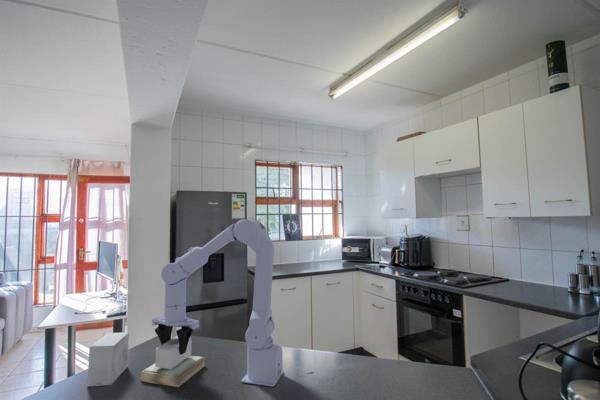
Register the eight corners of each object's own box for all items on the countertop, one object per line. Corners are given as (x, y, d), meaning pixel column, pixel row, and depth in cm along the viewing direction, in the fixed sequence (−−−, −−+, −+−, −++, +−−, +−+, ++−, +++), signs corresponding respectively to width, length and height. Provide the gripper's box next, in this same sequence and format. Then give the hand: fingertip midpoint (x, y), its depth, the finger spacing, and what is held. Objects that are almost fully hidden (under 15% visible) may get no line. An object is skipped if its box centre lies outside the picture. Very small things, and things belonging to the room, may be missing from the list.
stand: (204, 366, 91) (204, 356, 91) (178, 387, 79) (178, 376, 80) (170, 361, 94) (170, 352, 94) (140, 381, 83) (141, 370, 83)
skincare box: (112, 385, 81) (114, 344, 82) (86, 387, 80) (88, 346, 81) (128, 366, 91) (129, 331, 92) (105, 368, 90) (106, 332, 91)
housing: (170, 369, 82) (171, 347, 82) (155, 367, 83) (155, 345, 84) (191, 354, 91) (191, 334, 91) (177, 352, 92) (177, 333, 92)
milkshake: (185, 343, 108) (185, 315, 108) (178, 350, 102) (178, 319, 103) (173, 343, 108) (173, 314, 109) (165, 349, 103) (165, 319, 104)
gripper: (205, 301, 90) (204, 348, 89) (164, 299, 94) (163, 344, 93) (190, 308, 83) (189, 359, 82) (147, 305, 87) (145, 353, 86)
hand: (174, 352), depth 87 cm, fingers closed on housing, 5 cm apart
